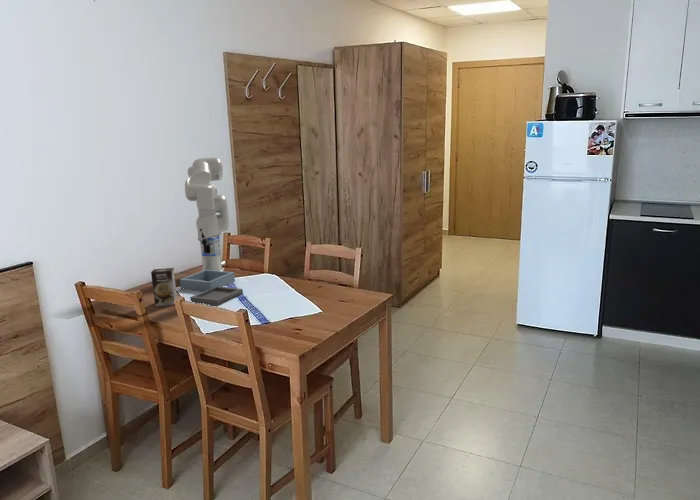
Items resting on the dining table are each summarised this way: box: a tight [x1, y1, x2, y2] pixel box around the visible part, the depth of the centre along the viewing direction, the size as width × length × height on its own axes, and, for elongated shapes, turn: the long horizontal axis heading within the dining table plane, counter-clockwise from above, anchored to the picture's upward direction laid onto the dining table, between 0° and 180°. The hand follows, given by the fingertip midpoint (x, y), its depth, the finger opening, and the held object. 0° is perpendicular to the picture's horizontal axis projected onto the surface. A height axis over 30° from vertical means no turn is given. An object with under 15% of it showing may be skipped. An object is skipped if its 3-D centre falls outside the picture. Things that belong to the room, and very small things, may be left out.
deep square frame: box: [179, 270, 236, 292], centre depth 273 cm, size 19×19×5 cm
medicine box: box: [200, 236, 222, 257], centre depth 248 cm, size 8×4×9 cm, turn 68°
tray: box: [189, 286, 244, 307], centre depth 251 cm, size 18×16×2 cm
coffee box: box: [150, 267, 178, 307], centre depth 245 cm, size 9×6×16 cm
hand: (211, 251), depth 248 cm, fingers closed on medicine box, 4 cm apart
